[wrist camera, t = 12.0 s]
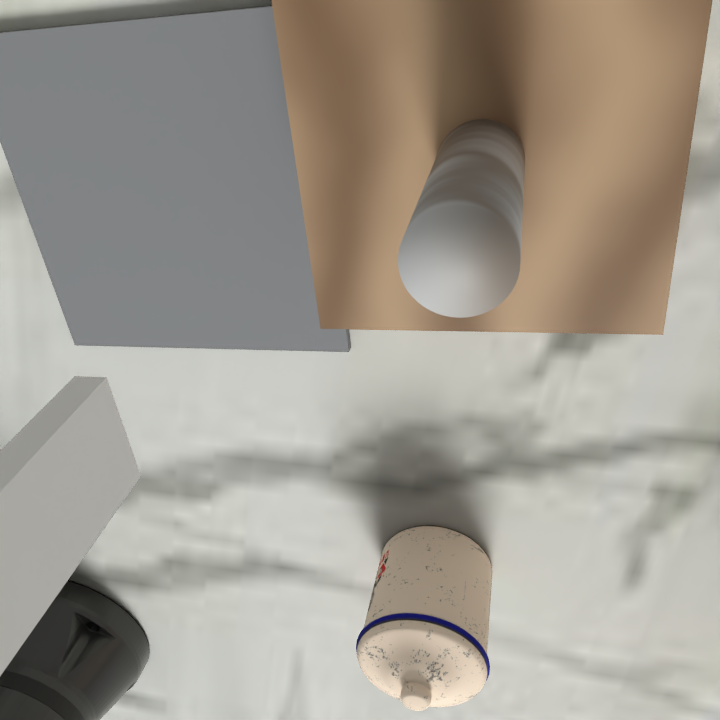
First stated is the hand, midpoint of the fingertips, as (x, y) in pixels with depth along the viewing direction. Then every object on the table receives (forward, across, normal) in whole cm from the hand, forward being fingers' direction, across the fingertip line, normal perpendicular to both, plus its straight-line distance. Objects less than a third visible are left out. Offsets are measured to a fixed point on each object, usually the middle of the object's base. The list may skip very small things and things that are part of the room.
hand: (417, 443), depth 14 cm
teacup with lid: (+27, +4, +35) cm, 44 cm away
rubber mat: (+27, +19, +4) cm, 33 cm away
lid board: (+20, 0, 0) cm, 20 cm away
